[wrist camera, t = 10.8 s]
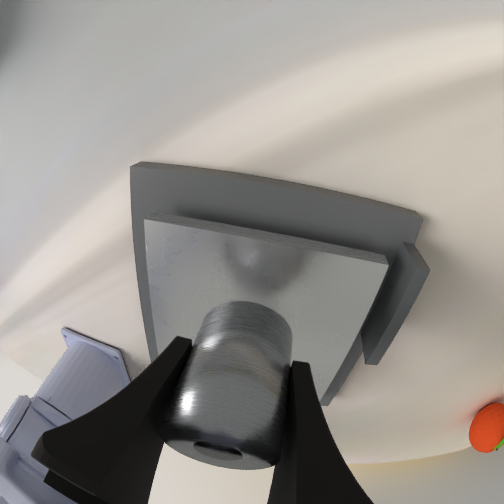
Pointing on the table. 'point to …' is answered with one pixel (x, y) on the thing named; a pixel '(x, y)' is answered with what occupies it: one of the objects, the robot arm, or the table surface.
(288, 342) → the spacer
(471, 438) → the clementine
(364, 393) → the table surface
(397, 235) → the scale
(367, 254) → the pan
